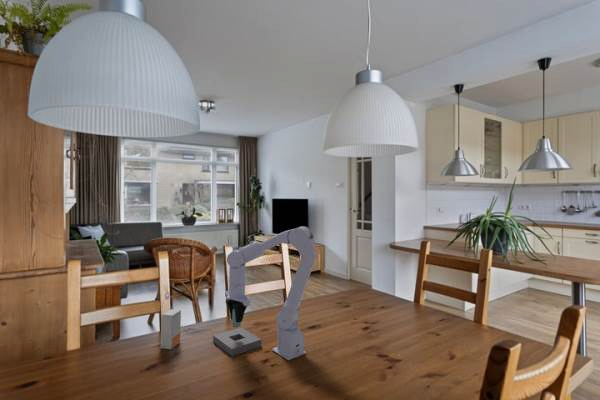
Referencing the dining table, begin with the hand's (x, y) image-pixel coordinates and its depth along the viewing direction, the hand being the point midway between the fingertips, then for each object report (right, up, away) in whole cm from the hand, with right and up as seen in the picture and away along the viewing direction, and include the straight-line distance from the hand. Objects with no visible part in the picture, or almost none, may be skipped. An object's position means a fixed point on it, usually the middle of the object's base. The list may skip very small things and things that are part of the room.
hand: (236, 320), depth 119 cm
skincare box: (-24, -9, -1) cm, 25 cm away
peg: (0, -2, 0) cm, 2 cm away
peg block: (0, -9, 0) cm, 9 cm away
